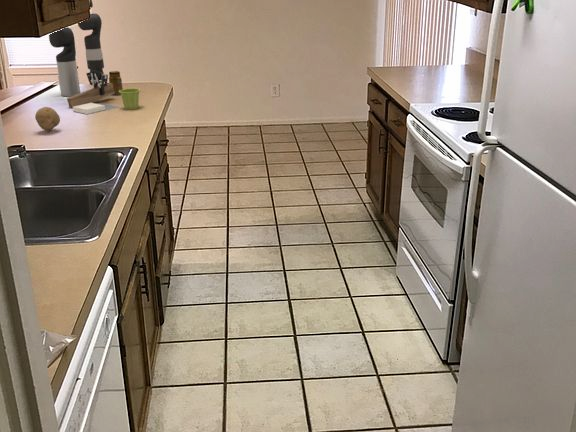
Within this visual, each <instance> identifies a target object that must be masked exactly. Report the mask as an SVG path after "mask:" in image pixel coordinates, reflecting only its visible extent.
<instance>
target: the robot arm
mask: <svg viewBox="0 0 576 432" xmlns="http://www.w3.org/2000/svg"><path fill="white" fill-rule="evenodd" d="M93 5H94V4H93V1H92V0H90V7H91V9H92V8H93ZM89 14H90V19H88V20H85V21H83V22H81V23H78V22H77V25H78V28H79V29H80V30H82V31H92V32H91V33H90V34H87V35H85V36H84V38H83V40H84V47H85V59H86V66H87V70H89V72H86V73H85V74H86V77H87V79H88V82H89V85H90V86H92V87H93V88H95V87H98V86H99V90H100V95H101V96H102V95H105V91H104V87H105V86H107V83H108V81H109V74H105V73H104V71H103V69H104V68H105V63H104V56H103V51H102V46H101V31H102V23H103V22H102V19H101V16H100V14H98V13H89ZM66 27H67V28H64V29H62V30H60V31H57V32H54V33H52V34H50V35H49V34H48V40H49V44H50V45H51V47H53V48H62V50H61V52H60V53H58V54H56V56H55V61H56V66H57V73H58V76H57V77H58V85H59V90H60V95H61V96H63V97H72V96H74V95H77V94H80V93H81V87H80V78H79V72H78V66H77V59H76V56H77V52H76V51H77V50H76V42H75V40H76V39H75V35H74V32H73V30H72V29H71V28H70V27H69V26H66Z"/></svg>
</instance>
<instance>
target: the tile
mask: <svg viewBox="0 0 576 432" xmlns="http://www.w3.org/2000/svg"><path fill="white" fill-rule="evenodd" d="M100 104H101V103H95V102H92V103H88V104H83V105H79V106H74V107H73V108H72V111H73V112H75V113H76V112H77V113H79V114H84V115H89V114H90V115H91V114H92V113H93V114H95V113H94V112H98V111H102V110H105V105H100ZM102 112H103V111H102ZM98 113H99V112H98Z"/></svg>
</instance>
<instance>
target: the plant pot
mask: <svg viewBox="0 0 576 432" xmlns="http://www.w3.org/2000/svg"><path fill="white" fill-rule="evenodd" d="M140 91H141V89H140V88H132V87H131V88H123V90H120V91H119V92H120V94H121V95H120V96H121V99H122V103H123V107H124V109H125V110H137V109H138V108H139V105H140V104H139V101H140V100H139V99H140V97H139V95H140ZM136 108H137V109H136Z"/></svg>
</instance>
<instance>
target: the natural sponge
mask: <svg viewBox="0 0 576 432" xmlns="http://www.w3.org/2000/svg"><path fill="white" fill-rule="evenodd" d="M35 120H36V122H37V125H38V126H39V127H40V129H41V130H43V131H45V132H46V133H47V132H48V133H49V132H51V131H53V130H54V129H55V127H57V126H59V124H60V122H61V117H60V115H59V113H58V112H57V111H56V109H54V108H52V107H48V106H43V107H42V108H39V109H38V110H37V111H36V113H35Z"/></svg>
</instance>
